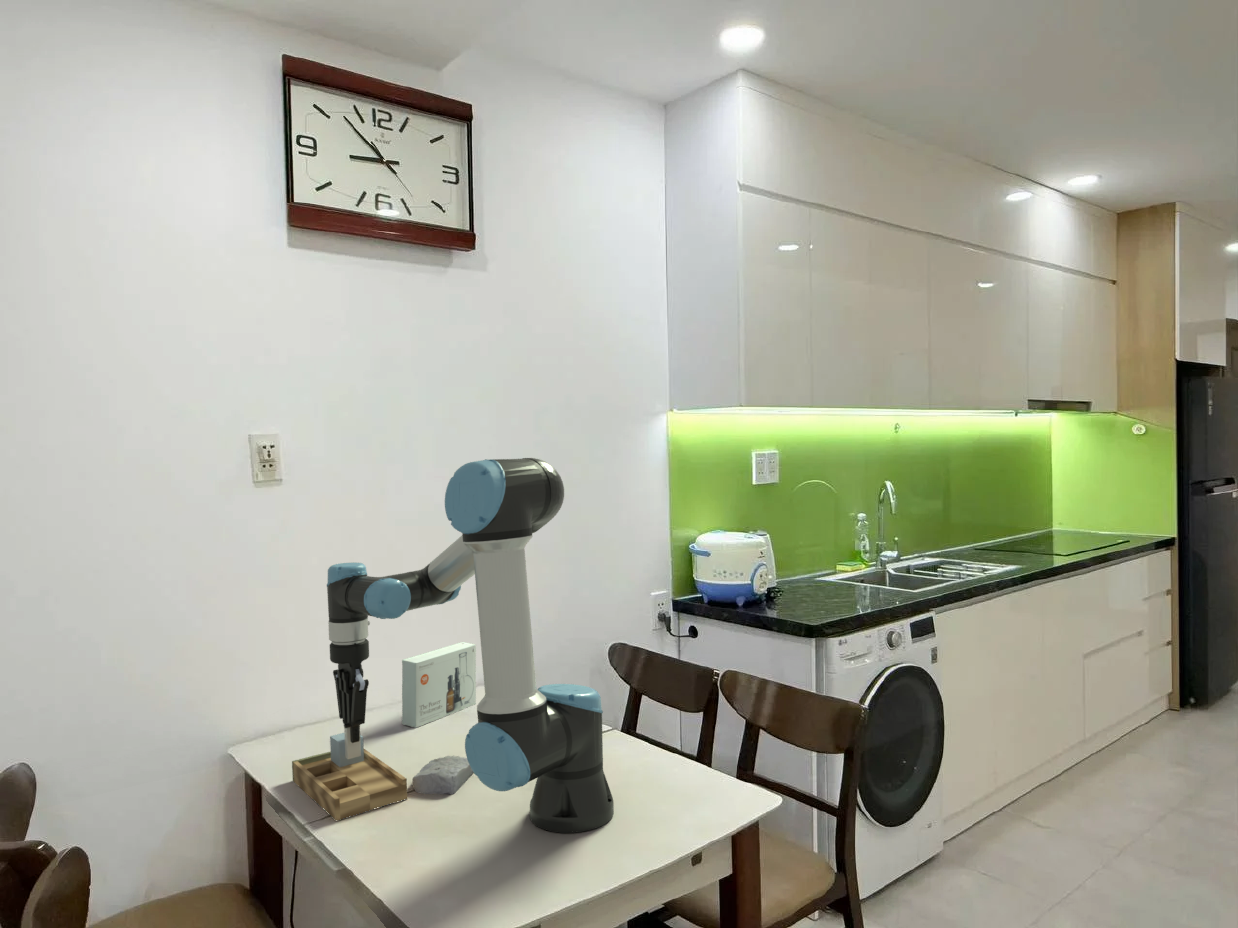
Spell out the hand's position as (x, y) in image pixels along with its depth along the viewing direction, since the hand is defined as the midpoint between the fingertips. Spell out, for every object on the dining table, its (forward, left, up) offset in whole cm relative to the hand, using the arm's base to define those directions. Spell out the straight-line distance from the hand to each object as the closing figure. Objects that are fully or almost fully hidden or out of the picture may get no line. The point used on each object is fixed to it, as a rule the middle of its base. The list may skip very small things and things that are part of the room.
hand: (353, 756), depth 170 cm
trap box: (-4, +3, -5) cm, 7 cm away
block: (+3, 0, -2) cm, 4 cm away
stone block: (-13, -13, -5) cm, 19 cm away
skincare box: (+25, -32, -5) cm, 41 cm away
